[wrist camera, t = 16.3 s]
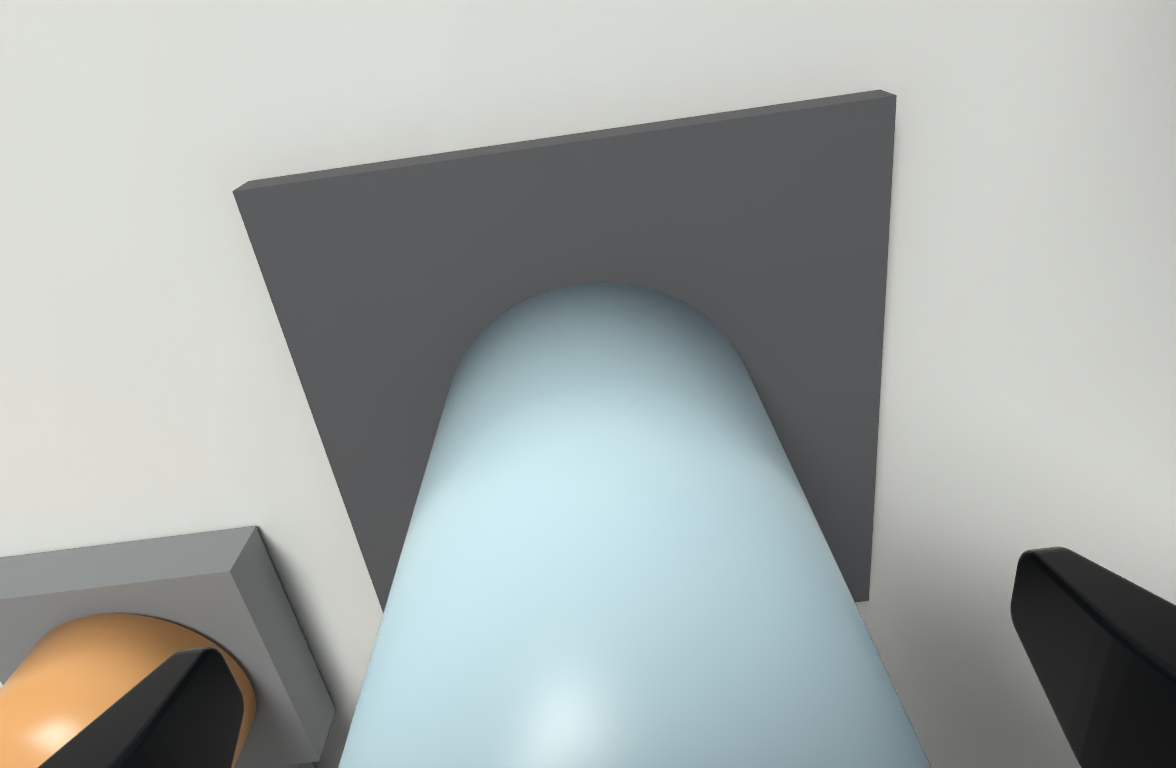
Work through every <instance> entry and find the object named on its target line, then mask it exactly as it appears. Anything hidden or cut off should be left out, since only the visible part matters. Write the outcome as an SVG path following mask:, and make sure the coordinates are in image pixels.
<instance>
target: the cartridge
mask: <svg viewBox="0 0 1176 768" xmlns="http://www.w3.org/2000/svg"><path fill="white" fill-rule="evenodd" d="M338 768H931V766H930V764H929V761H928V759H927V757H926V755H925V753H924V751H923V749H922V746H921V744H920V742H919V740H918V738H917V736H916V733H915V731H914V729H913V727H912V725H911V723H910V721H909V718H908V716H907V714H906V712H905V710H904V708H903V705H902V703H901V701H900V699H899V697H898V695H897V693H896V690H895V688H894V686H893V684H892V682H891V680H890V677H889V675H888V673H887V671H886V669H885V667H884V665H883V662H882V660H881V658H880V656H879V654H878V652H877V649H876V647H875V645H874V643H873V641H872V639H871V637H870V634H869V632H868V630H867V628H866V626H865V624H864V622H863V619H862V617H861V615H860V613H859V611H858V609H857V606H856V604H855V602H854V600H853V598H852V596H851V594H850V591H849V589H848V587H847V585H846V583H845V581H844V578H843V576H842V574H841V572H840V570H839V568H838V566H837V563H836V561H835V559H834V557H833V555H832V553H831V550H830V548H829V546H828V544H827V542H826V540H825V538H824V535H823V533H822V531H821V529H820V527H819V525H818V522H817V520H816V518H815V516H814V514H813V512H812V510H811V507H810V505H809V503H808V501H807V499H806V497H805V494H804V492H803V490H802V488H801V486H800V484H799V482H798V479H797V477H796V475H795V473H794V471H793V469H792V466H791V464H790V462H789V460H788V458H787V456H786V454H785V451H784V449H783V447H782V445H781V443H780V441H779V439H778V436H777V434H776V432H775V430H774V428H773V426H772V423H771V421H770V419H769V417H768V415H767V413H766V411H765V408H764V406H763V404H762V402H761V400H760V398H759V395H758V393H757V391H756V389H755V387H754V385H753V383H752V380H751V378H750V376H749V374H748V372H747V370H746V367H745V365H744V363H743V361H742V359H741V357H740V355H739V354H738V352H737V351H736V349H735V348H734V346H733V344H732V343H731V341H730V340H729V339H728V338H727V337H726V336H725V334H724V333H723V332H722V331H721V330H720V329H719V328H718V327H717V326H716V325H715V324H714V323H713V322H712V321H710V320H709V319H708V318H707V317H706V316H705V315H703V314H702V313H700V312H699V311H697V310H696V309H694V308H693V307H691V306H690V305H688V304H686V303H685V302H683V301H680V300H678V299H676V298H674V297H672V296H670V295H667V294H665V293H662V292H659V291H655V290H652V289H649V288H646V287H640V286H635V285H629V284H623V283H604V282H600V283H586V284H577V285H572V286H567V287H562V288H557V289H554V290H551V291H548V292H545V293H542V294H539V295H536V296H534V297H532V298H530V299H528V300H526V301H524V302H522V303H520V304H517V305H516V306H514V307H513V308H511V309H510V310H508V311H507V312H505V313H504V314H502V315H501V316H499V317H498V318H497V319H496V320H495V321H493V322H492V323H491V324H490V325H489V326H488V327H486V328H485V329H484V330H483V331H482V332H481V334H480V335H479V336H478V337H477V338H476V339H475V340H474V342H473V343H472V344H471V345H470V347H469V348H468V350H467V351H466V353H465V354H464V356H463V357H462V359H461V361H460V363H459V365H458V367H457V369H456V371H455V374H454V376H453V378H452V381H451V385H450V388H449V392H448V395H447V399H446V402H445V405H444V409H443V412H442V416H441V419H440V422H439V426H438V429H437V433H436V436H435V440H434V443H433V446H432V450H431V453H430V457H429V460H428V463H427V467H426V470H425V474H424V477H423V480H422V484H421V487H420V491H419V494H418V498H417V501H416V504H415V508H414V511H413V515H412V518H411V521H410V525H409V528H408V532H407V535H406V539H405V542H404V545H403V549H402V552H401V556H400V559H399V562H398V566H397V569H396V573H395V576H394V580H393V583H392V586H391V590H390V593H389V597H388V600H387V603H386V607H385V610H384V614H383V617H382V620H381V624H380V627H379V631H378V634H377V638H376V641H375V644H374V648H373V651H372V655H371V658H370V661H369V665H368V668H367V672H366V675H365V679H364V682H363V685H362V689H361V692H360V696H359V699H358V702H357V706H356V709H355V713H354V716H353V720H352V723H351V726H350V730H349V733H348V737H347V740H346V743H345V747H344V750H343V754H342V757H341V760H340V764H339V767H338Z"/></svg>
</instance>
